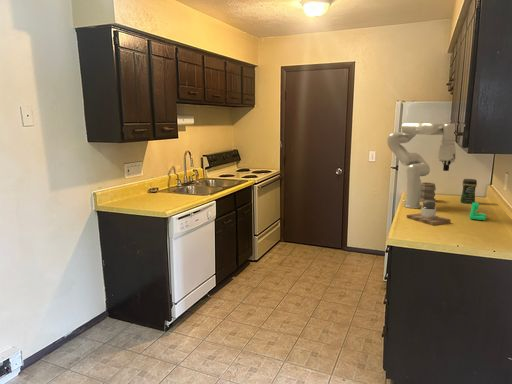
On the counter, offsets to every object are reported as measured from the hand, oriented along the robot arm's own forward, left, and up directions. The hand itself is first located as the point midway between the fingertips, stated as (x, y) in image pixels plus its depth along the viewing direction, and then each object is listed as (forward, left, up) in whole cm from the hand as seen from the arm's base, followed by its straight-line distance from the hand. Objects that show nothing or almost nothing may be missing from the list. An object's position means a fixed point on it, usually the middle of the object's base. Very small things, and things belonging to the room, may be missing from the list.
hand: (445, 170), depth 243 cm
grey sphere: (+10, -24, -24) cm, 35 cm away
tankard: (-39, +23, -29) cm, 54 cm away
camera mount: (+20, +9, -30) cm, 36 cm away
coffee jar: (-18, +48, -29) cm, 59 cm away
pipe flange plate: (+10, -24, -29) cm, 39 cm away
